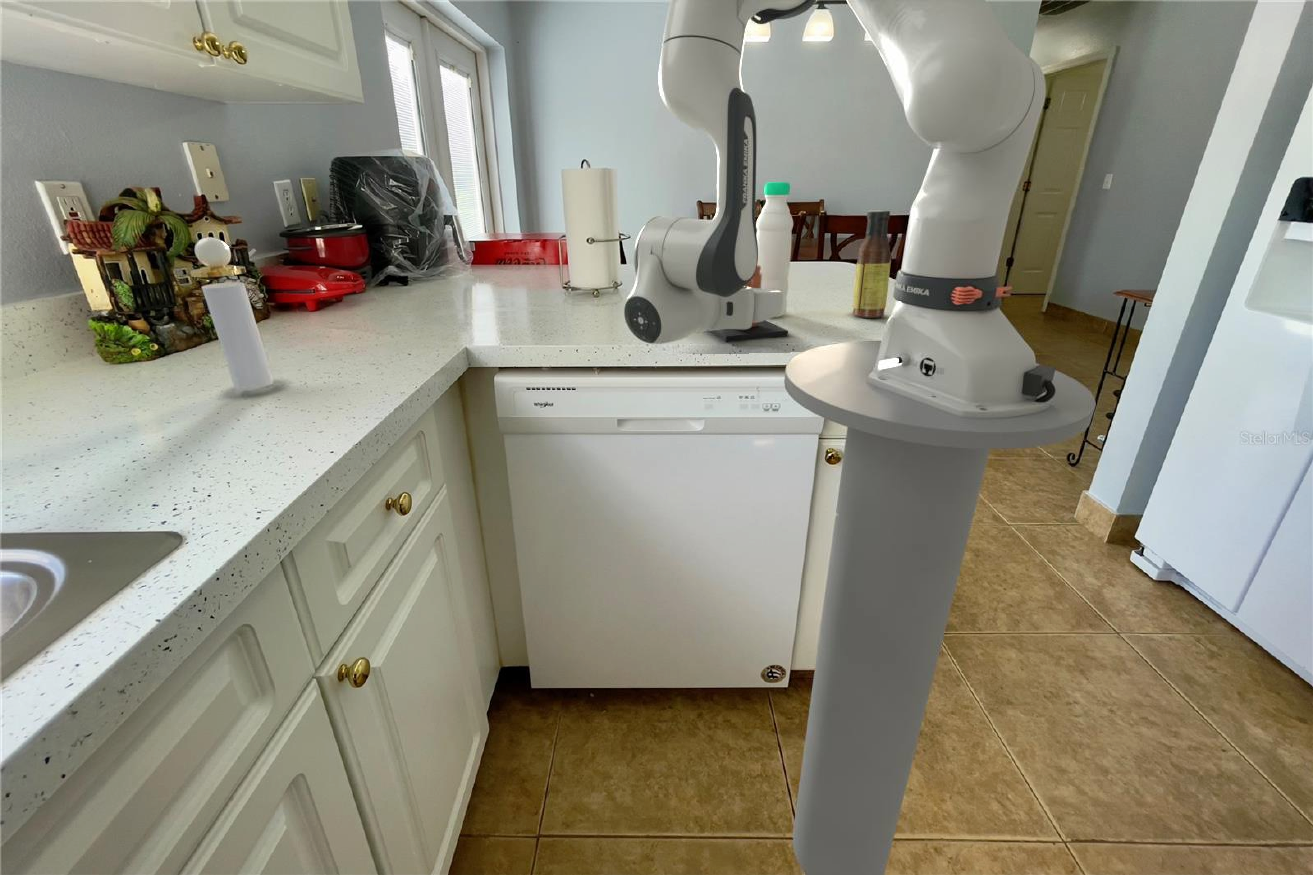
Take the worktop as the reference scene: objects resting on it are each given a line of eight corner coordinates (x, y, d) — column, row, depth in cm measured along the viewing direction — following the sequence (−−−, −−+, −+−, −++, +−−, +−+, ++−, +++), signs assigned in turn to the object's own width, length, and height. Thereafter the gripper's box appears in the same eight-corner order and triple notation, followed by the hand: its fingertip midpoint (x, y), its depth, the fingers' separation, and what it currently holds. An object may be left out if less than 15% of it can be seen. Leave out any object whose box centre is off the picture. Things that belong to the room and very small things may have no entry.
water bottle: (782, 319, 116) (793, 182, 106) (747, 316, 118) (755, 182, 108) (788, 312, 122) (799, 181, 112) (754, 309, 124) (762, 181, 114)
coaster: (787, 336, 104) (788, 330, 103) (725, 342, 100) (726, 336, 100) (757, 321, 114) (757, 316, 114) (700, 326, 111) (700, 321, 111)
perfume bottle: (288, 386, 81) (245, 236, 73) (244, 399, 77) (193, 240, 69) (266, 380, 84) (221, 234, 76) (222, 392, 80) (170, 238, 71)
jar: (764, 326, 105) (768, 266, 101) (734, 328, 103) (737, 268, 99) (749, 319, 110) (753, 262, 106) (720, 321, 109) (723, 263, 104)
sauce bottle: (890, 316, 117) (907, 210, 109) (870, 320, 114) (886, 211, 106) (863, 310, 122) (877, 209, 114) (843, 314, 119) (856, 210, 110)
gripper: (653, 314, 102) (699, 302, 112) (755, 331, 91) (796, 316, 101) (653, 277, 100) (699, 268, 110) (758, 290, 88) (799, 278, 98)
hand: (746, 291), depth 105 cm, fingers closed on jar, 6 cm apart
